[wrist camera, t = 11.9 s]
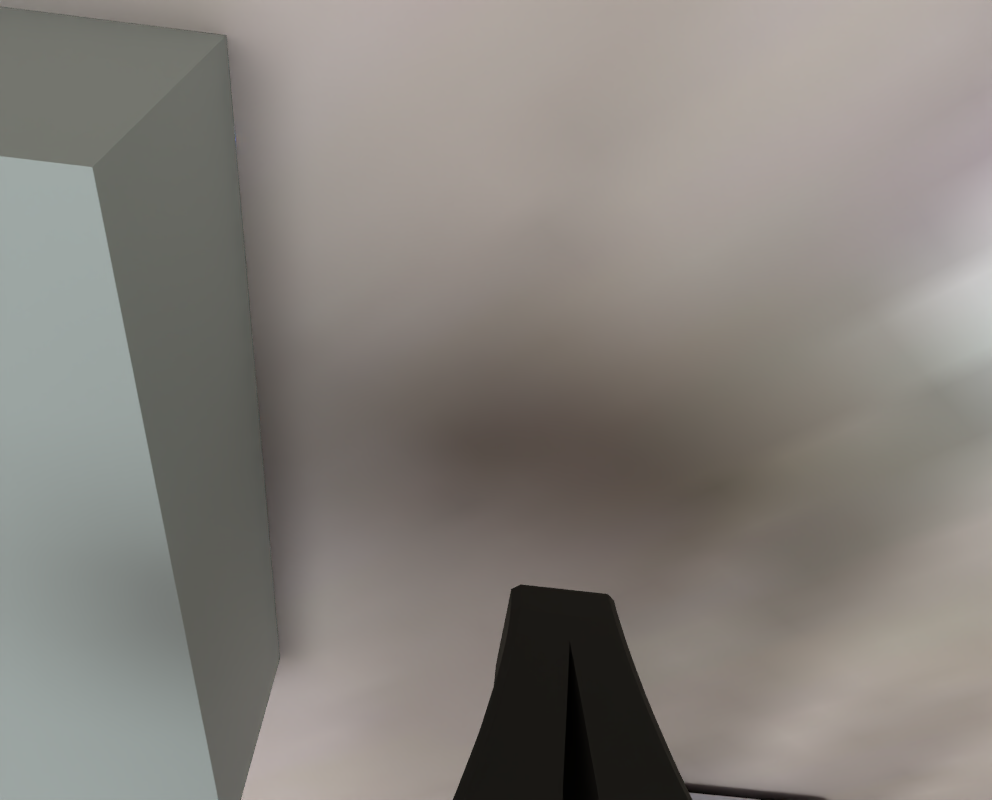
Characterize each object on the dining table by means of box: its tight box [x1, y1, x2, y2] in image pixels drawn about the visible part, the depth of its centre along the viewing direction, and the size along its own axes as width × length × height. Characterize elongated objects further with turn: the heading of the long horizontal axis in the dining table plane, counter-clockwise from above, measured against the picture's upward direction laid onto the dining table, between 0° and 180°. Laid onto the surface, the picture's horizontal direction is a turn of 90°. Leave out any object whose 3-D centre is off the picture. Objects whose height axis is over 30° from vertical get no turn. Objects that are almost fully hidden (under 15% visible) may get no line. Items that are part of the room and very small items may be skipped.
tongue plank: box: [0, 7, 280, 800], centre depth 14 cm, size 14×6×4 cm, turn 174°
